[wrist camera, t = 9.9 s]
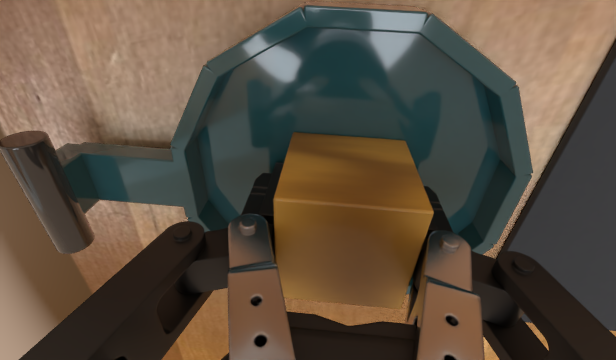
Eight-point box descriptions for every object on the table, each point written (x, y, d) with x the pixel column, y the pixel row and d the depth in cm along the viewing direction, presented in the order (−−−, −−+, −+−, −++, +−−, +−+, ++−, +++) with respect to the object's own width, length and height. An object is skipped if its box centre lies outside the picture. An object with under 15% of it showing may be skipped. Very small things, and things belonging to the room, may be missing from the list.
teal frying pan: (129, 255, 19) (85, 315, 15) (22, -15, 11) (-110, -11, 8) (449, 285, 18) (474, 355, 15) (573, 14, 10) (684, 33, 7)
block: (291, 217, 15) (275, 298, 11) (292, 131, 13) (272, 198, 9) (385, 225, 15) (401, 310, 11) (406, 139, 13) (435, 212, 9)
